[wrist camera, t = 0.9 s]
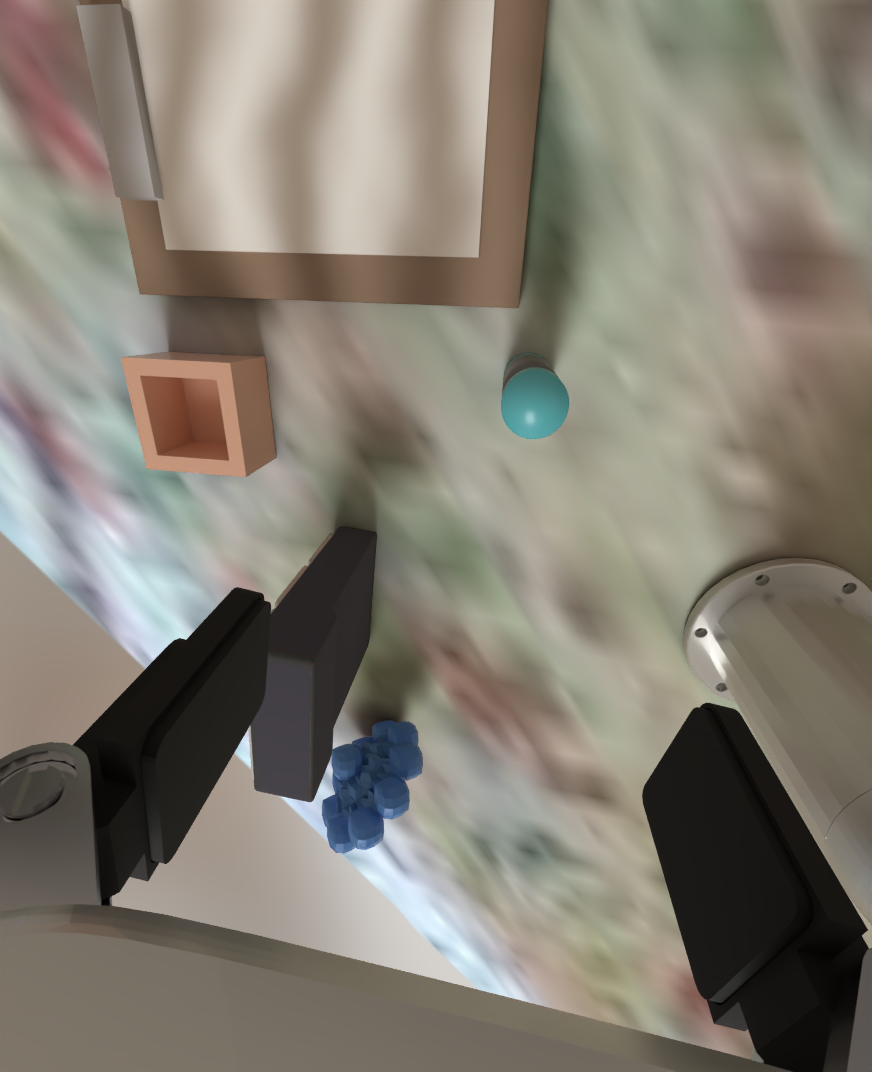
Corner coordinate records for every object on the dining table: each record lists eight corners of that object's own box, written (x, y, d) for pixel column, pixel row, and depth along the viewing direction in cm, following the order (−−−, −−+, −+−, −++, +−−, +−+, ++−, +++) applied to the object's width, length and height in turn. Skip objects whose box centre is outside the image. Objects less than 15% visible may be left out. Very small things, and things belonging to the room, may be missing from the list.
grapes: (395, 664, 42) (356, 786, 31) (450, 710, 43) (430, 842, 33) (316, 725, 47) (258, 850, 36) (368, 765, 48) (327, 897, 37)
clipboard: (561, -141, 21) (566, -183, 20) (518, 308, 29) (518, 307, 27) (70, -110, 24) (35, -144, 22) (150, 294, 32) (128, 293, 30)
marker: (554, 354, 30) (574, 372, 21) (548, 403, 31) (563, 441, 22) (505, 351, 30) (504, 369, 21) (501, 400, 31) (498, 436, 22)
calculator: (330, 522, 37) (228, 643, 24) (385, 531, 37) (313, 659, 23) (327, 636, 42) (241, 791, 28) (375, 645, 41) (311, 806, 28)
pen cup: (264, 356, 32) (230, 362, 28) (276, 457, 35) (246, 476, 31) (168, 351, 33) (120, 357, 29) (187, 451, 36) (146, 468, 32)
